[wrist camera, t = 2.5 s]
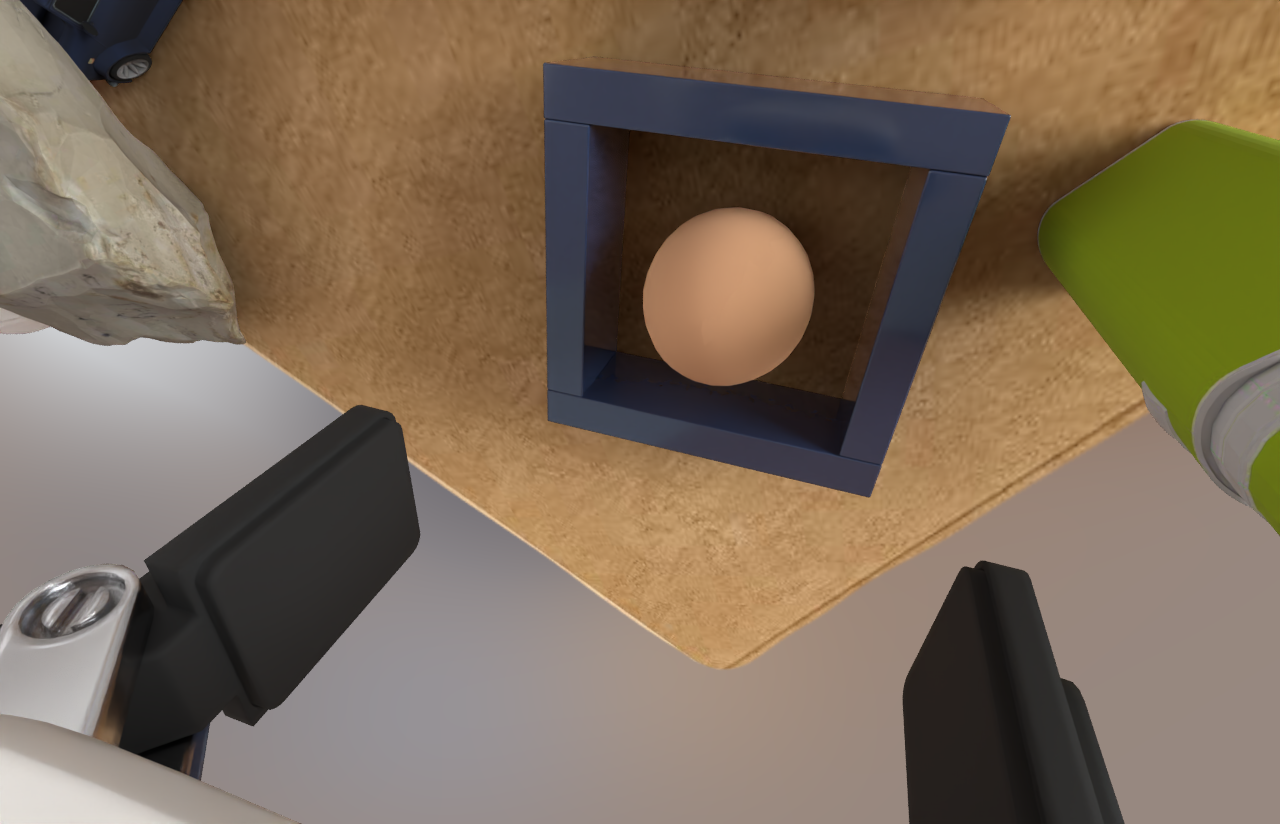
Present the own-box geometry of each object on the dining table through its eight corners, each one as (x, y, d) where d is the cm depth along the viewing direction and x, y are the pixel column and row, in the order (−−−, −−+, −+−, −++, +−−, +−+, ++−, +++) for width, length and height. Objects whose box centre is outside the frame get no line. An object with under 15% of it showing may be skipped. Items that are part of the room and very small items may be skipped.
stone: (338, 308, 28) (104, 446, 23) (266, 323, 39) (96, 419, 34) (-36, -212, 20) (-536, -178, 14) (6, -7, 30) (-272, 54, 25)
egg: (644, 261, 26) (575, 337, 20) (745, 152, 23) (701, 202, 17) (742, 357, 27) (706, 459, 21) (853, 266, 24) (850, 354, 18)
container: (584, 373, 30) (547, 421, 27) (593, 56, 23) (542, 62, 19) (868, 435, 28) (869, 498, 24) (984, 98, 20) (1011, 115, 16)
